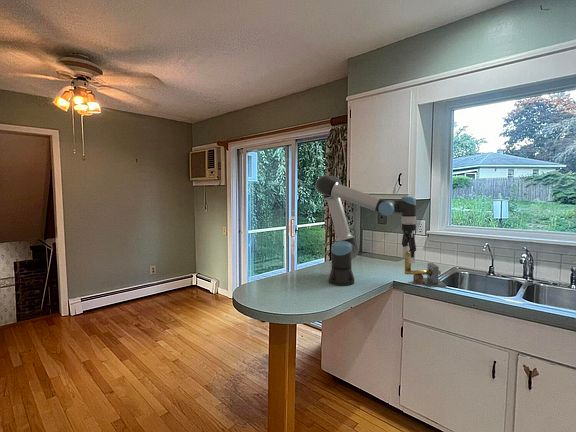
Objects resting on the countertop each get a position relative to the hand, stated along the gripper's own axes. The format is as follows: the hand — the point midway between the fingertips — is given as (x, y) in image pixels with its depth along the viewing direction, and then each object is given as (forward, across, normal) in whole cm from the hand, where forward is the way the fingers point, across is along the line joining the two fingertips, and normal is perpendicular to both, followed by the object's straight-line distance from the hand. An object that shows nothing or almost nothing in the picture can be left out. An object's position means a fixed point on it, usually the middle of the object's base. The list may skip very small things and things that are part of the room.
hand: (408, 260), depth 182 cm
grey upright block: (+13, 0, -14) cm, 19 cm away
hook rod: (+9, 0, -8) cm, 12 cm away
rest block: (+13, 0, -6) cm, 14 cm away
